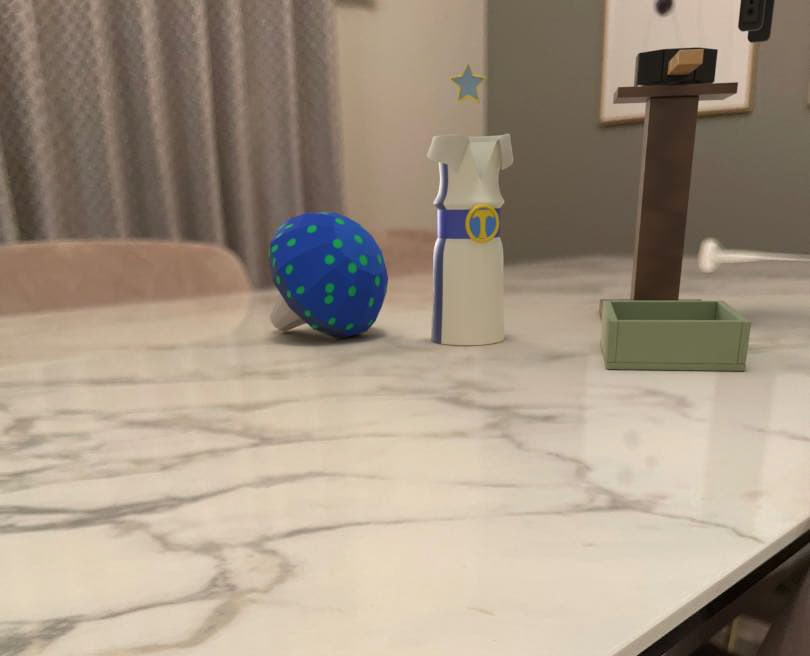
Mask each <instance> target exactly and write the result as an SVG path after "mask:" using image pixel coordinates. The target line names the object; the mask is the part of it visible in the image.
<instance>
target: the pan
mask: <svg viewBox="0 0 810 656" xmlns="http://www.w3.org/2000/svg"><path fill="white" fill-rule="evenodd" d="M718 53H719V49H717V48H708V47H698V46H697V47H681V48H680V47H678V48H677V47H676V48H662V49H656V50H655V49H654V50H647V51H642V52H639V53H638V54H637V55H636V56H635V68H634V77H633V78H634V79H633V80H634V81H633V86H658V85H683V84H708V83H715V80H716V70H717V61H718Z"/></svg>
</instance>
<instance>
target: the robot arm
mask: <svg viewBox="0 0 810 656" xmlns="http://www.w3.org/2000/svg"><path fill="white" fill-rule="evenodd" d="M775 3H776V0H740V4H739V13H738V23H737V28H738V30H739V31H740V32H743V33H744V32H747V41H748V43H752V44H755V43H765V42H768V41H769V40H770V39H771V35H772V26H773V17H774V10H775Z"/></svg>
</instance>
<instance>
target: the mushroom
mask: <svg viewBox="0 0 810 656" xmlns="http://www.w3.org/2000/svg"><path fill="white" fill-rule="evenodd" d="M267 259H268V265H269V269H270V274H271V279H272V283H273V284H274V286H275V287H276V289H277V291H278V292H279V294H278V297H277V300H276V303H275V304H274V307H273V309H272V310H271V312H270V315H269V319H270V322H271V323H272V325H273V327H274V328H275V329H277V331H281V332H287V331H290V330H292V329H295V328H298V327H300V326H302V325H308V326H309V327H310V328H311V329H312V330H315V331H317V332H319V333H322V334H325V335H327V336H330V337H333V338H335V339H339V338H348V337H352V336H355V335H359V334H362V333H366V332H368V331H369V329H371V327H372V326H373V325H374V324H375V323H376V321H377V319H378V316H379V314H380V312H381V310H382V308H383V305H384V302H385V298H386V295H387V293H388V284H389V275H388V271H387V266H386V262H385V259H384V255H383V250H382V249H381V248H380V246H379V244H378V243H377V242H376V239H375V238H374V236H372V234H371V233H370V232H369V231H368V230H367V228H365V227H363V226H362V224H360V222H357V221H355V220H353V219H351V218H349V217H348V216H345V215H343V214H341V213H338V212H335V211H334V212H333V211H332V212H331V211H330V212H329V211H327V212H326V211H325V212H324V211H323V212H322V211H319V212H306V213H302V214H298V215H296V216H294V217H290V218H289V219H287V220H286V221H284V222H283V223H282V224H280V225H279V226H278V229H277V231H276V232H275V233H274V236H273V238H272V239H271V241H270V244H269V249H268V253H267Z"/></svg>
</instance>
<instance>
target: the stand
mask: <svg viewBox="0 0 810 656" xmlns="http://www.w3.org/2000/svg"><path fill="white" fill-rule="evenodd" d="M738 86H739V82H737V81H735V82H713V83H708V84H683V85H658V86H634V85H633V86H617V87H616V89H615V91H614V93H613V96H612V97H613V98H612V100H613V101H612V104H613V105H620V104H623V105H624V104H645V110H644V123H643V133H642V134H643V135H642V145H641V161H640V171H639V172H640V173H639V183H638V185H639V186H638V197H637V209H636V210H637V211H636V222H635V232H634V233H635V234H634V244H633V246H634V247H633V259H632V272H631V282H630V283H631V284H630V295H629V298H615V299H614V298H601V299H599V309H598V312H599V315H600V320H601V321H602V312H603V301H703V300H702V299H701V298H690V299H689V298H680V288H681V279H682V269H683V259H684V250H685V241H686V240H685V239H686V229H687V220H688V219H687V218H688V211H689V210H688V209H689V199H690V190H691V181H692V172H693V162H694V161H693V160H694V151H695V141H696V132H697V123H698V112H699V102H701V101H704V102H705V101H706V102H707V101H724V100H726V99H728V98H730V97H732V96H734V95H736V94H737V93H738V88H739V87H738Z"/></svg>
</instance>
